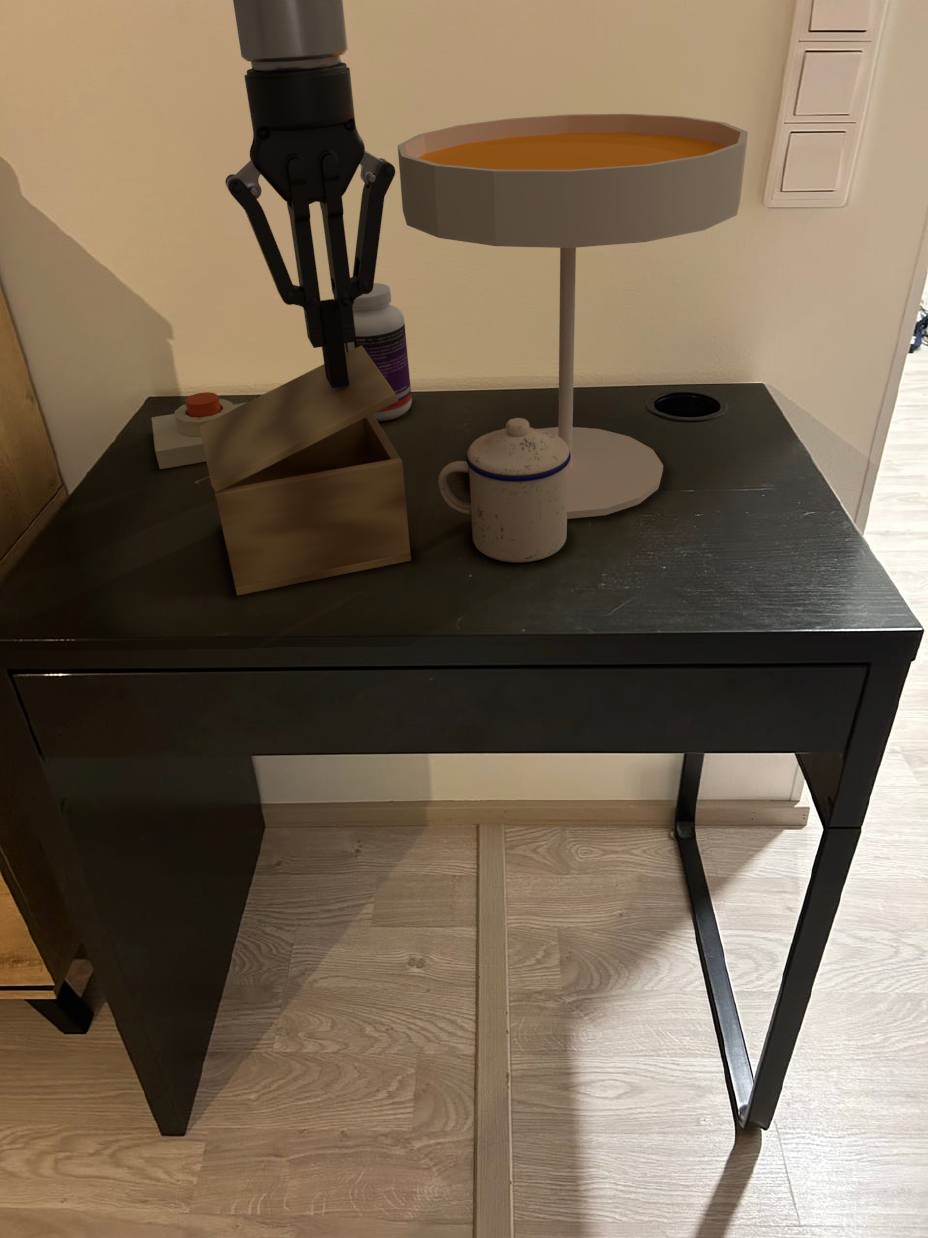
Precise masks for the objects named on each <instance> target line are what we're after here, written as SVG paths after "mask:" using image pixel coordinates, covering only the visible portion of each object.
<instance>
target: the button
mask: <svg viewBox="0 0 928 1238" xmlns="http://www.w3.org/2000/svg"><path fill="white" fill-rule="evenodd" d="M219 399H220V398H219V395H218V394H217V393H215V392H209V391H208V392H207V391H203V392H198V393H194V394H190V395H188V396H187V397H186V398H185V399H184V402H185V404H186V407H187V411H188V415H189V416H190V417H207V416H212V415H215V414H217V413H219V412H220V411H221V408H220V403H219Z"/></svg>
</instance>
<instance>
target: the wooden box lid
mask: <svg viewBox="0 0 928 1238" xmlns="http://www.w3.org/2000/svg"><path fill="white" fill-rule="evenodd" d="M345 355H346V363H347V371H348V379H349V385H348V386H342V387H336V388H332V387H331V385H330V384H329V382H328V380H327V378H326V373H325V366H324V363H323V364H321V365H319V366H317V367H316V368H313V369H311V370H309V371H307V372H305V373H304V374H301V375H299V376H298V377H296V378H293V379H291V380H289V381H287V382H285V383H283V384H282V385H279V386H277V387H275V388H273V389H271V390H269V391H267V392H266V393H264V394H262V395H260V396H258V397H255V398H254V399H252V400H250V401H247V403H246V402H244V403H245V404H243V405H241V406H239V407H237V408H235V409H233V410H231V411H230V412H228V413H226V414H224V415H222V416H220V417H218V418H216V419H214V420H212V421H210V422H208V423H206V424H204V425H202V426H200V427H199V429H200V434H201V438H202V443H203V448H204V452H205V457H206V466H207V471H208V476H209V481H210V485H211V487H212V489H213V491H214V490H215V492H216V493H217V492H219V491H221V490H223V489H225V488H227V487H229V486H231V485H233V484H235V483H237V482H239V481H241V480H243V479H245V478H247V477H249V476H251V475H253V474H255V473H257V472H259V471H261V470H263V469H265V468H267V467H269V466H271V465H273V464H275V463H277V462H279V461H281V460H283V459H285V458H287V457H289V456H290V455H292V454H294V453H296V452H298V451H300V450H302V449H304V448H306V447H308V446H310V445H312V444H314V443H316V442H318V441H320V440H322V439H324V438H326V437H328V436H330V435H332V434H334V433H336V432H338V431H340V430H342V429H344V428H346V427H348V426H350V425H352V424H354V423H356V422H358V421H360V420H362V419H364V418H366V417H368V416H370V415H372V414H374V413H376V412H378V411H380V410H382V409H384V408H386V407H388V406H390V405H392V404H394V403H396V402H398V398H397V396H396V394H395V392H394V391H393V389H392V388H391V386H390V385H389V384H388V382H387V381H386V379H385V378H384V376H383V375H382V374H381V372H380V371H379V369H378V368H377V366H376V365H375V364H374V362H373V361H372V359H371V358H370V357H369V355H368V354H367V352H366V351H365V349H364V348H363V347H362V346H359V347H357V348H355V349H353V350H351V351H349V352H347V353H345Z"/></svg>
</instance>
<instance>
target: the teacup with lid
mask: <svg viewBox="0 0 928 1238" xmlns="http://www.w3.org/2000/svg"><path fill="white" fill-rule="evenodd" d="M538 429H539V428H534V427H531V426H530V422H529V421H528V420H527V419H525V418H522V417H514V418H510V419H509V420H508V421H507V422H506V424H505V428H502V429H498V430H493V431H491V432H487V433H486V434H483V435H481V436H480V437H478V438H476V439H475V440H474V441H473V442H472V443H471V444H470V445H469V447H468V449H467V453H466V455H465V460H463V461H462V460H458V461H457V460H456V461H452V462H449V463H448V464H446V465H445V466H444V467H443V468H442V469H441V471H440V473H439V475H438V479H437V481H438V482H437V483H438V484H437V485H438V489H439V493H440V495H441V497H442V499H443V500H444V502H445V503H446V504H447V505H448V506H449V507H450V508H451V509H453V510H454V511H456V512H458V513H460V514H463V515H469V516H471V530H472V533H471V534H472V542H473V543H474V546H475V548H476V550H478V551H479V552H480V553H481V554H483V555H484V556H486V557H488V558H491V559H494V560H495V561H496V560H497V561H500V562H507V563H529V562H530V563H531V562H536V561H540V560H543V559H546V558H548V557H552V556H553V555H555V554H556V553H557V552H559V551H560V550H561V549H562V548H563V546H565V543H566V542H567V538H568V537H567V536H568V535H567V533H568V532H567V531H568V519H567V481H568V463H569V462H570V458H571V454H570V451H569V448H568V446H567V444H566V443H565V441H564V440H563V439H561V438H560V437H559V436H557V435H555V434H553V433H550V432H547V431H543V430H538ZM452 473H465V474H466V473H467V474H469V473H470V476H469V489H470V491H469V492H470V503H468V502H464V501H462V500H460V499H459V498H458V497H456V496H455V494H454V493H453V492H452V489H451V488H450V485H449V480H448V479H449V475H450V474H452Z"/></svg>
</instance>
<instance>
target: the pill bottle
mask: <svg viewBox="0 0 928 1238" xmlns="http://www.w3.org/2000/svg"><path fill="white" fill-rule="evenodd" d="M391 302H392V294H391V287H390V286H389V285H387V284H385V283H379V282H374V285H373V290H372V291H371V292H370V293H369V294H363V295H361V296H359V297H357V298H356V299H355V300H354V304H353V316H354V325H355V333H356V337H355V340H354V342H350V343H344V347H345V353H347V352H349V351H351V350H353V349H355V348H357V347H359V346H362V347H363V348H364V349H365V351H366V352H367V354H368V355H369V357H370V358H371V359H372V361H373V362H374V364H375V365H376V366H377V368H378V369H379V371H380V372H381V374H382V375H383V376H384V378H385V379H386V381H387V382H388V384H389V385H390V386H391V388H392V389H393V391H394V392H395V394H396V396H397V398H398V402H396V403H394V404H392V405H390V406H388V407H386V408H384V409H382V410H380V411H378V412H376V413H374V414H373V415H374V417H375V418H376V420H377V422H386V421H392V420H394V419H397V418H399V417H402V416H403V415H404V414H406V413H407V412H408V411H409V409H410V408H411V406H412V404H413V397H412V388H411V379H410V367H409V366H410V365H409V357H408V356H409V355H408V344H407V336H406V335H407V334H406V323H405V317H404V314H403V312H402V311H401V310H400V309H399V308H398V307H396V306H394V305H392V304H391Z"/></svg>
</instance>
